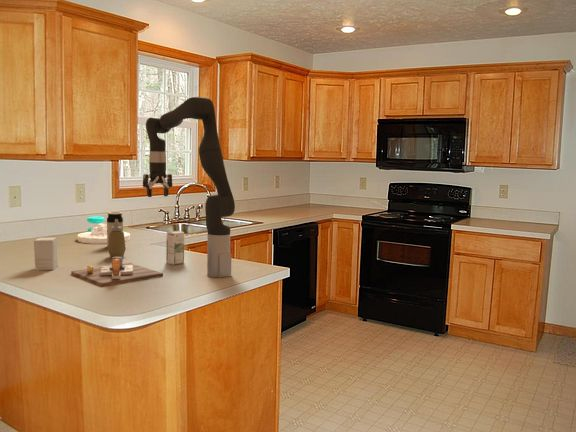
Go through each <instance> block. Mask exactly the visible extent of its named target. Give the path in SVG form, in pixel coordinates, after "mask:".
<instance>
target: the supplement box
mask: <svg viewBox="0 0 576 432" xmlns="http://www.w3.org/2000/svg"><path fill="white" fill-rule="evenodd" d="M57 244H58V237H38V238H36V239H35V240H33V247H34V268H35V270H34V271H48V270H49V271H54V270H55V269H56V268H57V267H58V266H59V264H58V245H57Z"/></svg>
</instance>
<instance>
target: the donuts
mask: <svg viewBox="0 0 576 432" xmlns="http://www.w3.org/2000/svg"><path fill="white" fill-rule="evenodd" d="M86 220H87V222H88V223H89V224H95V225H96V224H97V225H98V224H101V223H104V222H105V217H104V216H96V215H95V216H94V215H93V216H88V217H87V219H86ZM92 227H93V226H92ZM92 227H89V228H88V229H87V230H86V232H92V231H91V229H93V228H94V227H95V226H94V227H93V228H92Z"/></svg>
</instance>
